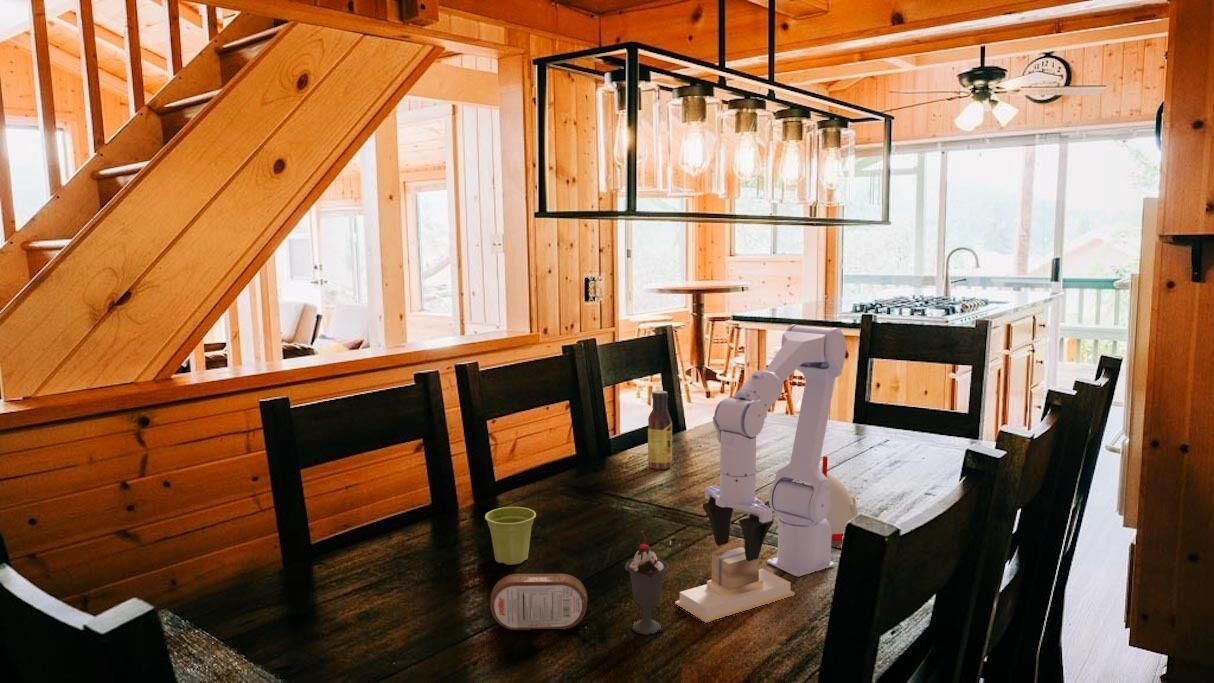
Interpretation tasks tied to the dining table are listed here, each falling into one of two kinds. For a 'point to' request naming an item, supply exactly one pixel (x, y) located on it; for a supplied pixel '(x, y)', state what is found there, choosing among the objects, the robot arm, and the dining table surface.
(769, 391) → the robot arm
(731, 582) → the taped parcel
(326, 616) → the dining table surface
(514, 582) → the tin
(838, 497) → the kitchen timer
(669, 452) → the sauce bottle
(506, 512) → the plant pot
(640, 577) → the sundae
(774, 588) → the dock
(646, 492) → the dining table surface
